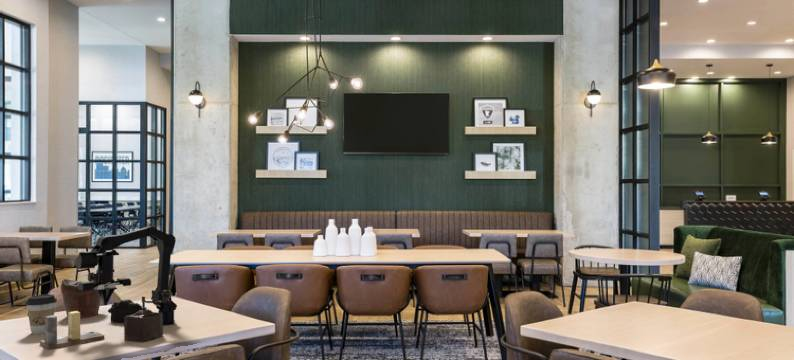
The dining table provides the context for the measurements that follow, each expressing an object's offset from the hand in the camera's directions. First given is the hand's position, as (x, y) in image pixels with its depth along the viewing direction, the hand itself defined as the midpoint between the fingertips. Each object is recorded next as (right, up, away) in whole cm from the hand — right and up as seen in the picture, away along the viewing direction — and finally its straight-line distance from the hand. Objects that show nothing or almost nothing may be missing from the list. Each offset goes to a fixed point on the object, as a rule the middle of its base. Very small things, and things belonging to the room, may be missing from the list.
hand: (105, 305), depth 228 cm
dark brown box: (+20, -12, -3) cm, 23 cm away
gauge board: (-7, -12, -10) cm, 17 cm away
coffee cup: (-30, -13, +6) cm, 33 cm away
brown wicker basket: (-31, -14, +39) cm, 51 cm away
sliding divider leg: (-7, -10, -10) cm, 16 cm away
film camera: (-2, -13, +25) cm, 28 cm away
